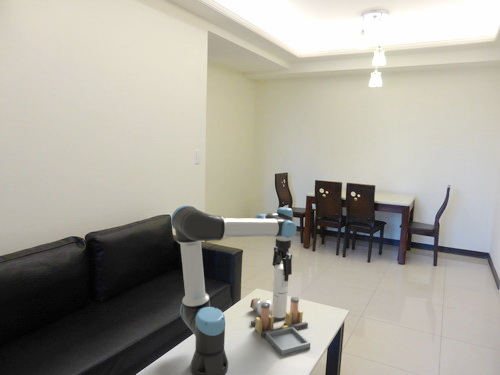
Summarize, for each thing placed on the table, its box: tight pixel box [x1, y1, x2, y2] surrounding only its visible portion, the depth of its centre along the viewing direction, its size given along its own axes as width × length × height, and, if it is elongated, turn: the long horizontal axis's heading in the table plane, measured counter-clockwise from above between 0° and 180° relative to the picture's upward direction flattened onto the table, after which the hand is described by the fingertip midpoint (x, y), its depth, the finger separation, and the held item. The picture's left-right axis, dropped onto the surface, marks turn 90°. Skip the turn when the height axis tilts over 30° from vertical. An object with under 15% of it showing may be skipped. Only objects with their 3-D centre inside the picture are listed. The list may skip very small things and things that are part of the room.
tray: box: [265, 327, 311, 357], centre depth 160 cm, size 15×15×2 cm
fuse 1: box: [260, 303, 270, 332], centre depth 171 cm, size 4×4×13 cm
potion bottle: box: [249, 297, 273, 317], centre depth 185 cm, size 9×10×15 cm
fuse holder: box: [250, 308, 309, 338], centre depth 175 cm, size 26×13×6 cm, turn 115°
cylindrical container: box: [272, 263, 289, 318], centre depth 173 cm, size 7×7×25 cm
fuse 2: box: [289, 296, 300, 325], centre depth 178 cm, size 4×4×13 cm
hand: (280, 283), depth 172 cm, fingers closed on cylindrical container, 7 cm apart
